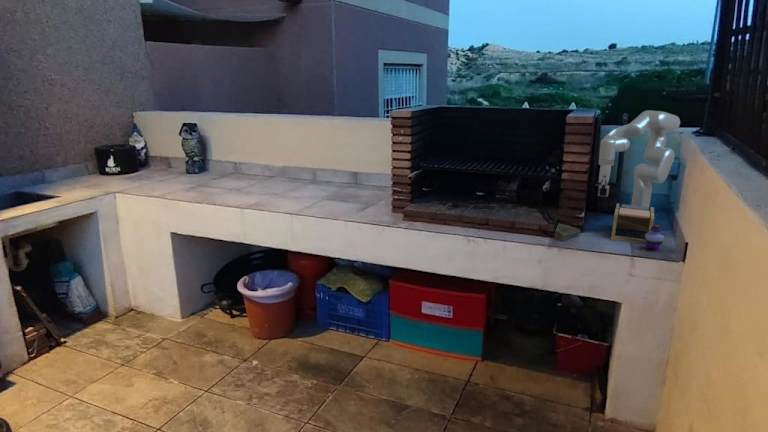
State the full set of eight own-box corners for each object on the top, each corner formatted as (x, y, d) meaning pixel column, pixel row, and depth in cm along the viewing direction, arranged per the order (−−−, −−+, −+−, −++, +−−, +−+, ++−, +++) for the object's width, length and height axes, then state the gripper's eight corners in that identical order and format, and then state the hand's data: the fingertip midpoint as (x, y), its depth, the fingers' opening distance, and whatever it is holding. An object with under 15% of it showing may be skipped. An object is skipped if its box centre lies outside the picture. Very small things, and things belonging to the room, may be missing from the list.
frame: (613, 226, 278) (617, 202, 274) (649, 231, 270) (653, 206, 266) (610, 239, 257) (614, 213, 253) (650, 245, 249) (654, 218, 245)
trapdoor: (619, 211, 271) (620, 204, 270) (649, 214, 265) (650, 207, 264) (617, 219, 256) (618, 212, 255) (649, 223, 250) (650, 215, 249)
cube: (598, 193, 279) (599, 184, 278) (608, 194, 277) (609, 185, 275) (597, 195, 275) (598, 187, 273) (607, 196, 273) (608, 187, 271)
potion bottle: (664, 252, 239) (668, 228, 235) (644, 250, 241) (648, 227, 237) (660, 246, 247) (664, 223, 243) (640, 245, 249) (644, 222, 245)
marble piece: (562, 242, 254) (563, 234, 253) (539, 234, 266) (540, 227, 264) (582, 236, 263) (583, 228, 262) (559, 229, 275) (560, 221, 273)
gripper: (600, 158, 279) (597, 189, 284) (597, 164, 265) (594, 197, 270) (615, 159, 276) (611, 190, 281) (613, 165, 261) (609, 198, 267)
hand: (603, 193), depth 276 cm, fingers closed on cube, 5 cm apart
